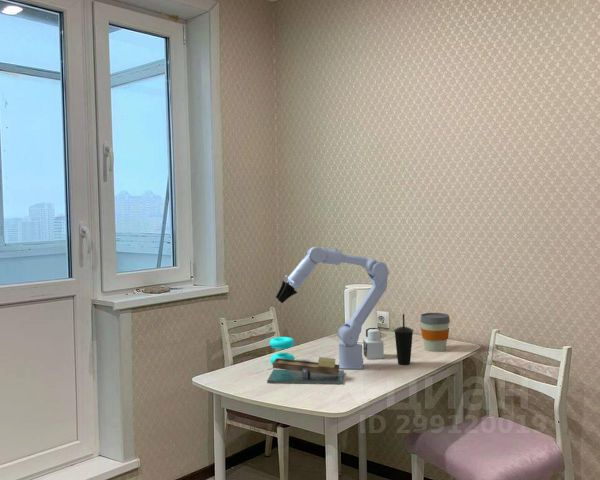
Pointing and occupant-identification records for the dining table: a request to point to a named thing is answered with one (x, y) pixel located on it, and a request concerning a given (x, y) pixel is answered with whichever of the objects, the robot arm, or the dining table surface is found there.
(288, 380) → the stand
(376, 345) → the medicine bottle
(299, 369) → the brown long flat tray
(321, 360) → the block
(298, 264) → the robot arm
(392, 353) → the dining table surface
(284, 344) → the donuts
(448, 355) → the dining table surface
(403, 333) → the drinking cup
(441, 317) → the reusable coffee cup
